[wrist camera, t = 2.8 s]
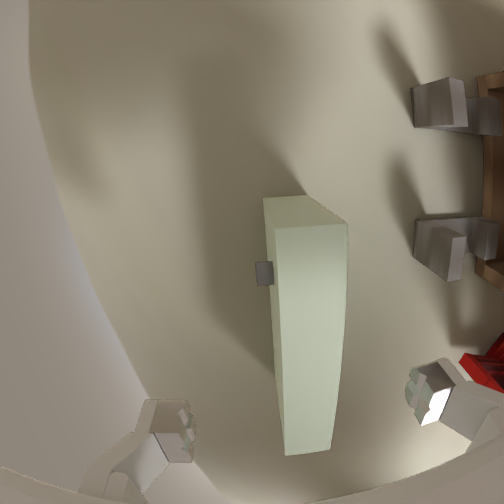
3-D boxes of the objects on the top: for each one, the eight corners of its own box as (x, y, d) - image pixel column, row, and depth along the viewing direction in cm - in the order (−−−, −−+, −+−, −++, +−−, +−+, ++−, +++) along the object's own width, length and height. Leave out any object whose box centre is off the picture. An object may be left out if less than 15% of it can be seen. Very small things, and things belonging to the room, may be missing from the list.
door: (309, 371, 20) (329, 449, 13) (264, 376, 20) (271, 457, 14) (306, 194, 16) (347, 223, 10) (249, 198, 16) (252, 230, 10)
